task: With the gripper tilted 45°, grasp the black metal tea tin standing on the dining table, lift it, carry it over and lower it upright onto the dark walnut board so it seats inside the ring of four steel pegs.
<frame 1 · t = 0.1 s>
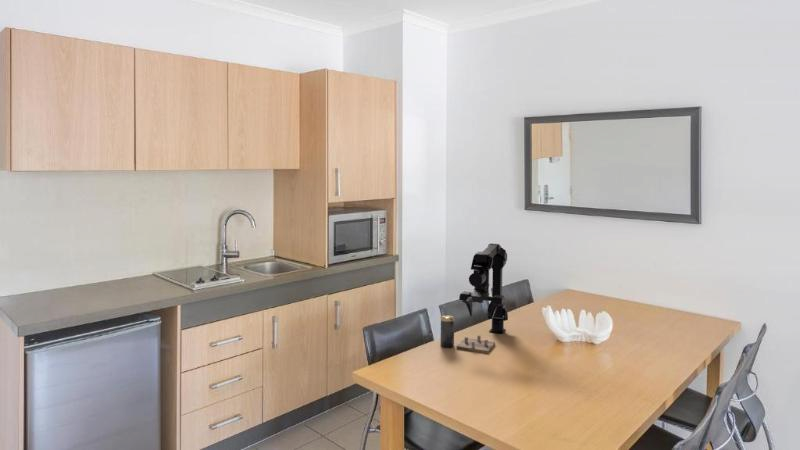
hand: (481, 317, 236), 14 cm above the table, tool pointing down, fingers open, 9 cm apart
tea tin: (447, 345, 242), on the table
peg board: (475, 346, 241), on the table
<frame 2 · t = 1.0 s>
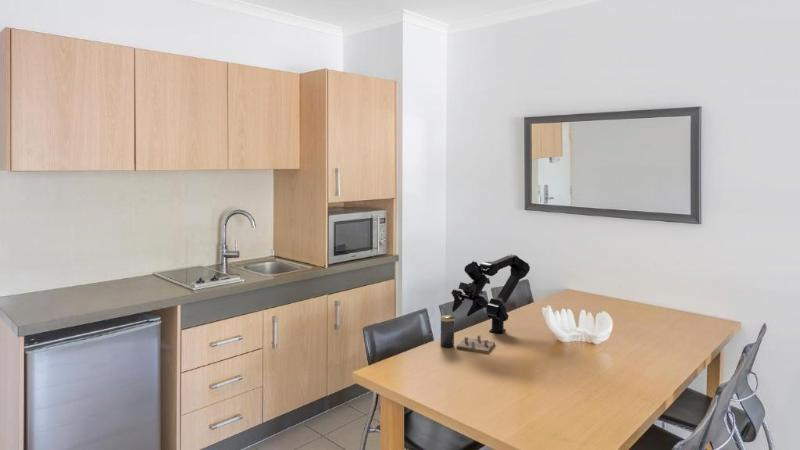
hand: (460, 313, 245), 13 cm above the table, tool tilted 45°, fingers open, 9 cm apart
nothing on the table moved.
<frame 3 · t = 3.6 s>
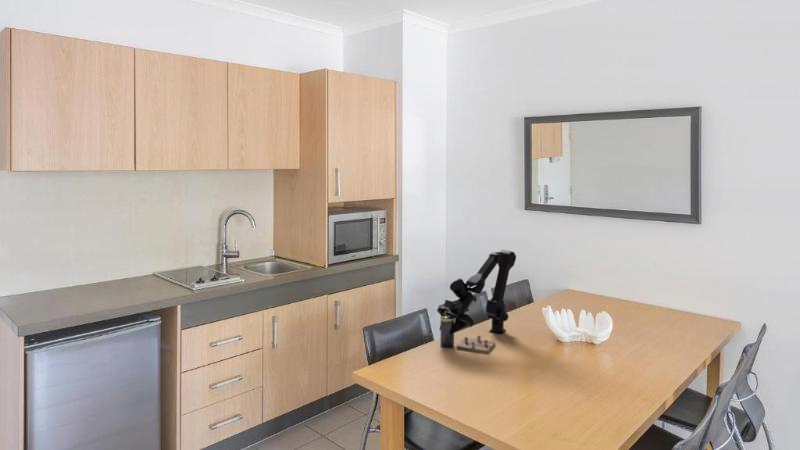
hand: (445, 332, 241), 7 cm above the table, tool tilted 45°, fingers closed on tea tin, 6 cm apart
tea tin: (447, 345, 242), on the table, touching gripper
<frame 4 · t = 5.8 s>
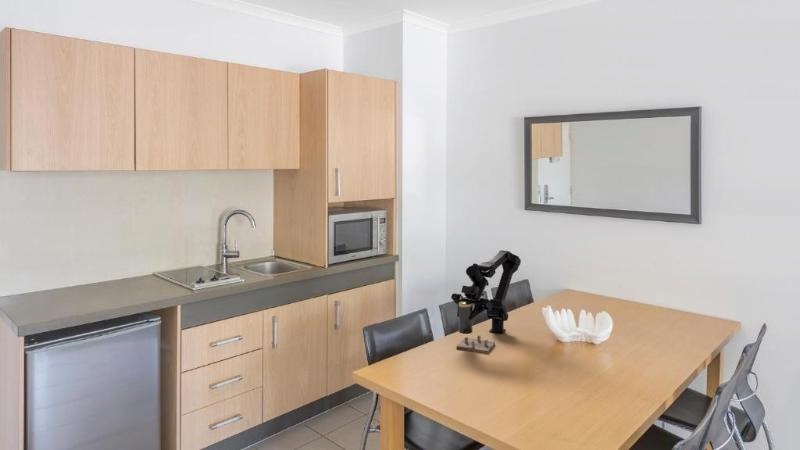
hand: (464, 317, 238), 13 cm above the table, tool tilted 45°, fingers closed on tea tin, 6 cm apart
tea tin: (465, 331, 240), point 7 cm above the table, touching gripper
when the fingers open (9 cm above the table, at t = 7.8 s): tea tin drops 1 cm, resting on peg board.
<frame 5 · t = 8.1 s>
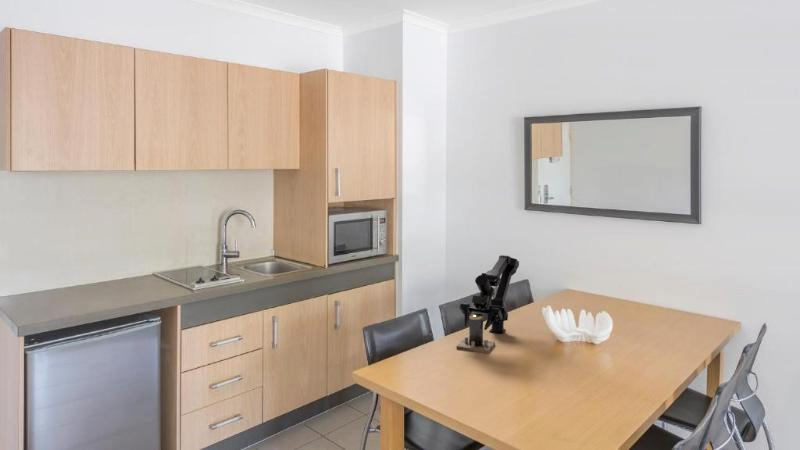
hand: (475, 327, 239), 9 cm above the table, tool tilted 45°, fingers open, 9 cm apart
tea tin: (476, 344, 241), point 1 cm above the table, touching peg board
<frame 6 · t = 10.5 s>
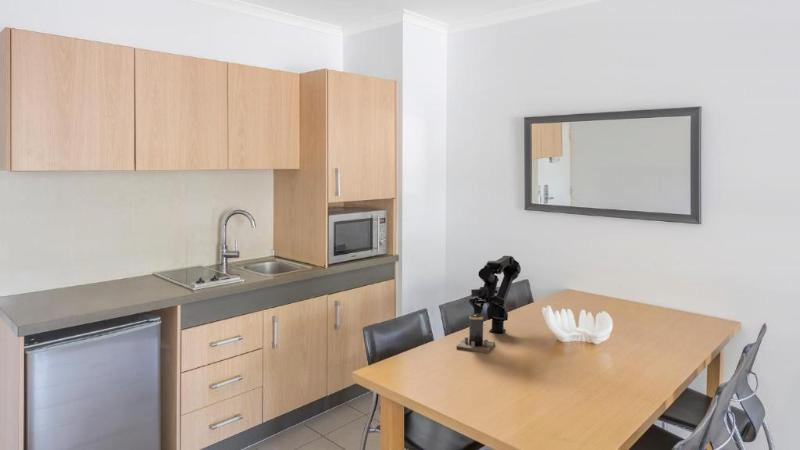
hand: (482, 319, 246), 11 cm above the table, tool tilted 30°, fingers open, 9 cm apart
nothing on the table moved.
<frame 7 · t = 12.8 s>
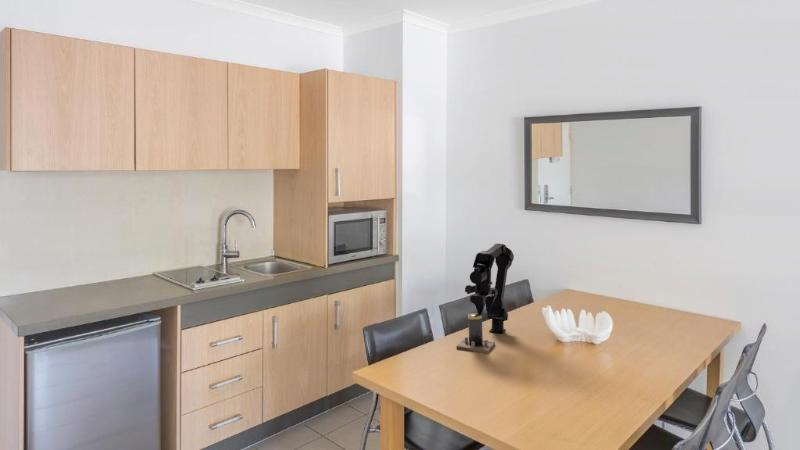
hand: (483, 313, 246), 13 cm above the table, tool pointing down, fingers open, 9 cm apart
tea tin: (476, 343, 241), point 1 cm above the table, touching gripper, peg board
at the end: tea tin 0.0 cm off-centre on the peg board, point 1.4 cm above the peg board's base; tea tin tilted 3°; the gripper is holding nothing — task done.
